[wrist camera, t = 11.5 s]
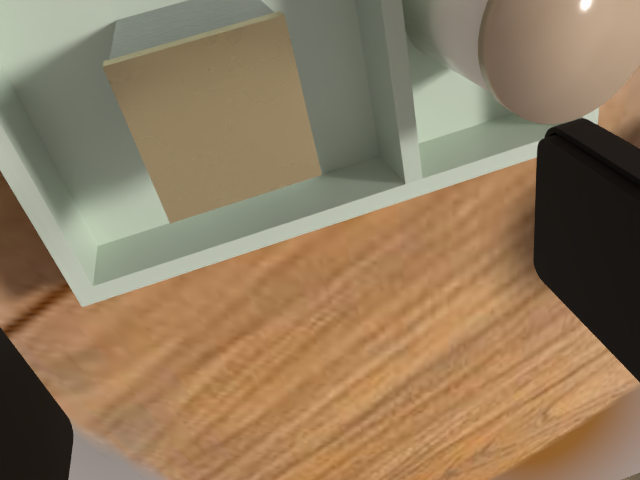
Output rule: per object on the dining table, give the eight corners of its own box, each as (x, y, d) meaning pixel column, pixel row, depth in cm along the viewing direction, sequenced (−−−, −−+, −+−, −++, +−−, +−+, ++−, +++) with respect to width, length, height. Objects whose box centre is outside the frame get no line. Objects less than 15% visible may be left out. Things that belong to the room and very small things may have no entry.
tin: (245, -19, 22) (284, 14, 16) (278, 107, 25) (321, 175, 19) (112, 18, 21) (102, 66, 15) (162, 142, 24) (170, 223, 18)
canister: (524, -102, 23) (675, -100, 16) (524, 45, 26) (649, 95, 20) (386, -65, 22) (486, -46, 16) (404, 82, 26) (493, 146, 19)
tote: (553, -234, 21) (629, -257, 18) (545, 109, 29) (596, 137, 26) (-93, -74, 19) (-142, -66, 16) (89, 256, 27) (82, 307, 23)
